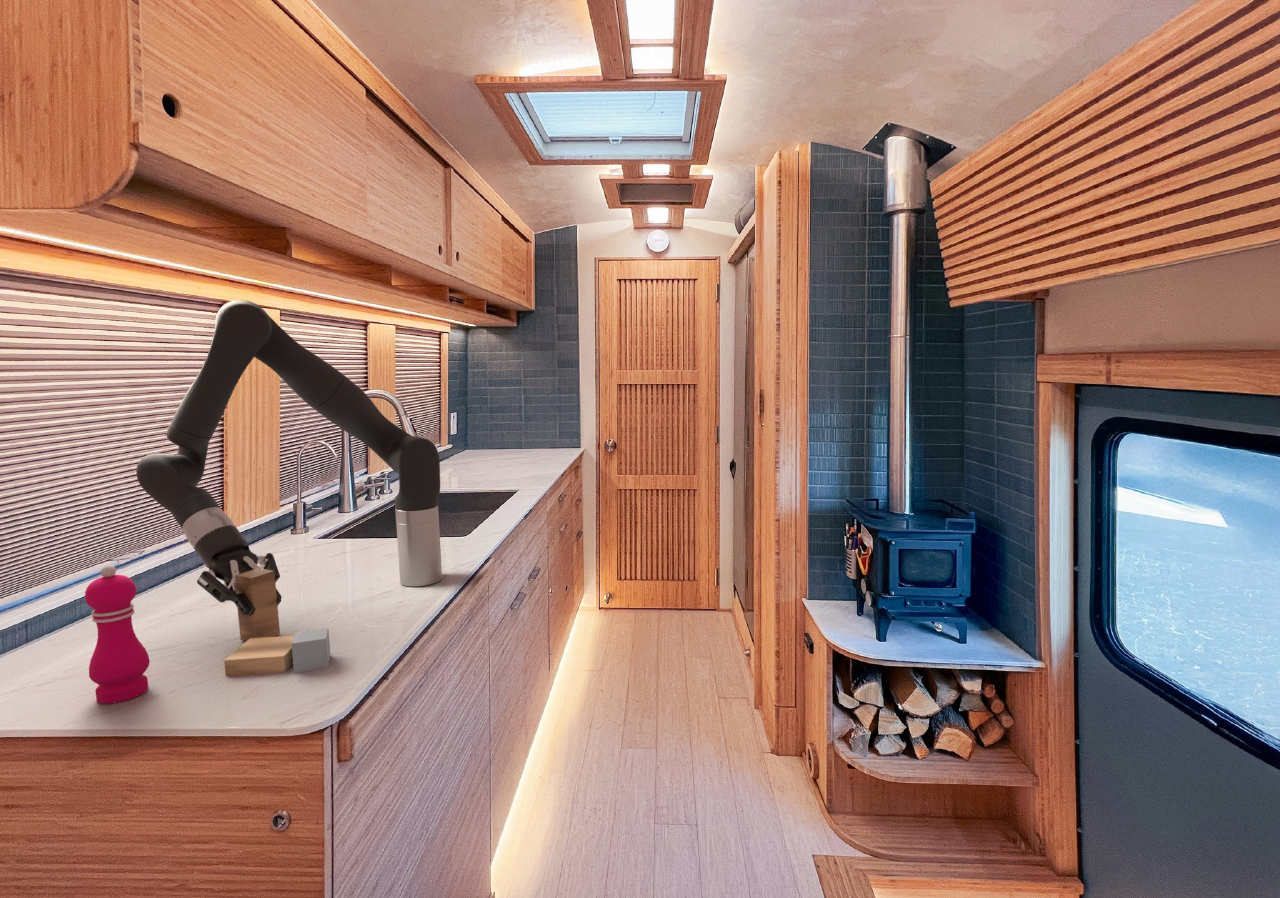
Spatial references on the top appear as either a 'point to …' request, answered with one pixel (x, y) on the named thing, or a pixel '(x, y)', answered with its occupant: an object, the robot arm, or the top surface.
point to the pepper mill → (116, 640)
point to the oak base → (261, 656)
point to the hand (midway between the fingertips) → (264, 608)
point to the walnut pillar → (259, 604)
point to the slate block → (311, 650)
